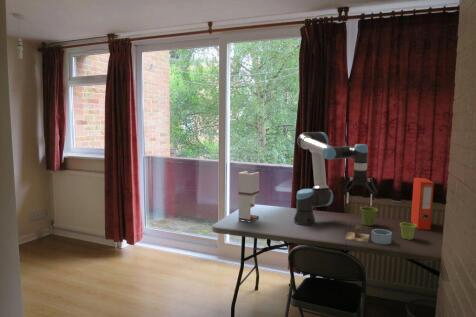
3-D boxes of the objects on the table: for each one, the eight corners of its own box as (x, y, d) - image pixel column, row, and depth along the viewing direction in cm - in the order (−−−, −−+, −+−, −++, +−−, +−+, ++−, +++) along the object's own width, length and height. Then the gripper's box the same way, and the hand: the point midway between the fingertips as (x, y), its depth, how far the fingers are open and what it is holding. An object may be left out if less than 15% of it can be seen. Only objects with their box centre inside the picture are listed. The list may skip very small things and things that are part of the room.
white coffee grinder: (251, 222, 247) (251, 174, 243) (238, 220, 252) (238, 172, 248) (258, 218, 256) (259, 172, 252) (246, 216, 262) (246, 170, 258)
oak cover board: (345, 239, 211) (345, 228, 210) (347, 233, 222) (348, 222, 222) (368, 242, 205) (368, 231, 204) (369, 235, 217) (369, 225, 216)
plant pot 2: (395, 235, 218) (396, 222, 217) (410, 235, 219) (410, 222, 218) (404, 241, 209) (404, 227, 208) (419, 240, 210) (419, 226, 209)
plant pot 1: (378, 227, 235) (379, 211, 234) (360, 226, 238) (361, 210, 236) (375, 222, 247) (376, 207, 245) (358, 221, 249) (358, 206, 248)
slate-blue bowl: (370, 243, 206) (371, 233, 205) (371, 237, 216) (372, 228, 215) (391, 245, 201) (391, 235, 200) (391, 239, 211) (391, 230, 210)
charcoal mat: (344, 240, 210) (344, 239, 210) (347, 233, 223) (347, 232, 223) (368, 243, 205) (368, 242, 205) (370, 236, 217) (370, 235, 217)
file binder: (423, 222, 246) (425, 178, 243) (430, 230, 230) (433, 182, 226) (410, 221, 248) (413, 177, 245) (417, 229, 232) (420, 182, 228)
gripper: (338, 169, 211) (337, 203, 213) (382, 171, 201) (380, 207, 203) (339, 167, 218) (338, 200, 220) (382, 170, 207) (381, 204, 210)
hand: (359, 204), depth 211 cm, fingers open, 13 cm apart
